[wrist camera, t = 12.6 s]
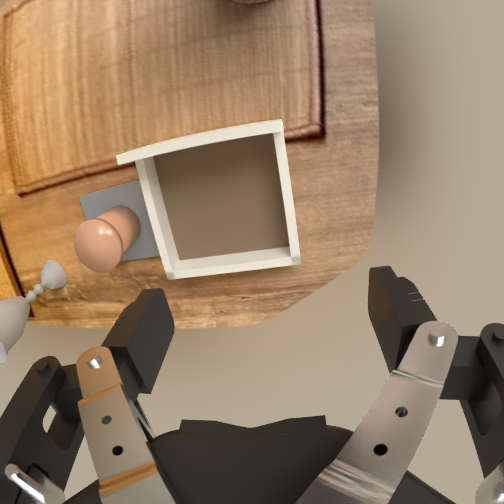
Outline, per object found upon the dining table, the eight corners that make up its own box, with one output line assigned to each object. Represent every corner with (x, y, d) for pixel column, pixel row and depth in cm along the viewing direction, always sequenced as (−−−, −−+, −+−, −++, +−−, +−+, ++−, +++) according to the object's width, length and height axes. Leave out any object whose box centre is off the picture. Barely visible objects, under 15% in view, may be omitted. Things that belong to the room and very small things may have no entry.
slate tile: (82, 194, 38) (78, 196, 37) (145, 178, 37) (142, 180, 36) (104, 260, 42) (101, 264, 41) (165, 252, 41) (163, 255, 40)
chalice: (49, 245, 42) (-26, 308, 25) (78, 276, 44) (11, 349, 27) (34, 271, 44) (-32, 333, 28) (60, 299, 46) (1, 369, 30)
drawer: (145, 145, 35) (115, 155, 28) (280, 118, 33) (282, 120, 26) (176, 264, 41) (157, 297, 34) (298, 249, 39) (303, 281, 32)
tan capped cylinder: (96, 207, 38) (66, 226, 31) (135, 197, 37) (109, 216, 30) (110, 250, 40) (84, 274, 34) (149, 243, 39) (126, 269, 33)
